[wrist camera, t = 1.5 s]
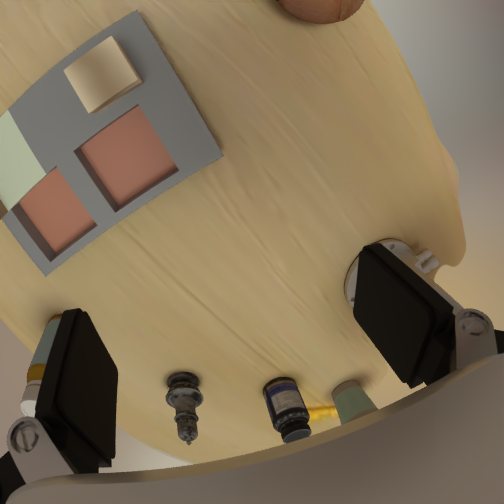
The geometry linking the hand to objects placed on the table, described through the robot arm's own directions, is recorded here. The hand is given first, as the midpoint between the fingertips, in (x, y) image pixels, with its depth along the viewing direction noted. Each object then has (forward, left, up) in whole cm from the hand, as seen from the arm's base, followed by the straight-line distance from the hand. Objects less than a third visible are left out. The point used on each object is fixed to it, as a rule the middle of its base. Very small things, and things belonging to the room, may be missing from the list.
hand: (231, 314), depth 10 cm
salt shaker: (+20, +27, -25) cm, 42 cm away
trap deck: (+10, -9, -25) cm, 28 cm away
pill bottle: (+8, +39, -25) cm, 47 cm away
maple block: (+3, -13, -23) cm, 26 cm away
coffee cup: (-2, +51, -25) cm, 57 cm away
